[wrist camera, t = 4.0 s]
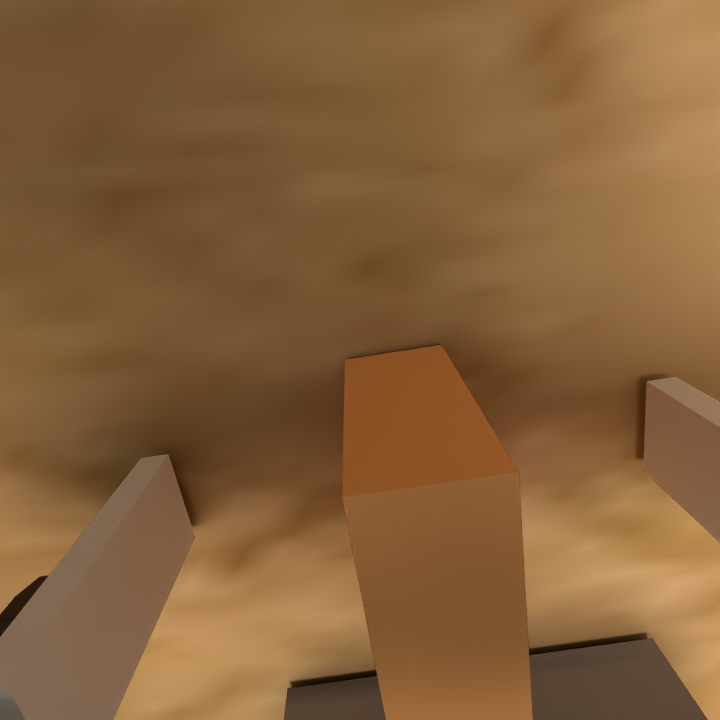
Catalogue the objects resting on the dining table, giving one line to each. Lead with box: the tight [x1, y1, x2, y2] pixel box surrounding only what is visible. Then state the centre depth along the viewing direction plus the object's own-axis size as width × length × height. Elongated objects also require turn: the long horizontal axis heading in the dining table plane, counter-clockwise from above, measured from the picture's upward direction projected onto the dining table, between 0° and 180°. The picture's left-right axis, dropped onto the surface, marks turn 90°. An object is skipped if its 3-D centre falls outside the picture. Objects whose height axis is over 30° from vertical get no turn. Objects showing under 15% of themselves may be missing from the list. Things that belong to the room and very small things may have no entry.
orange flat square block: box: [342, 345, 533, 720], centre depth 11 cm, size 6×2×6 cm, turn 9°
